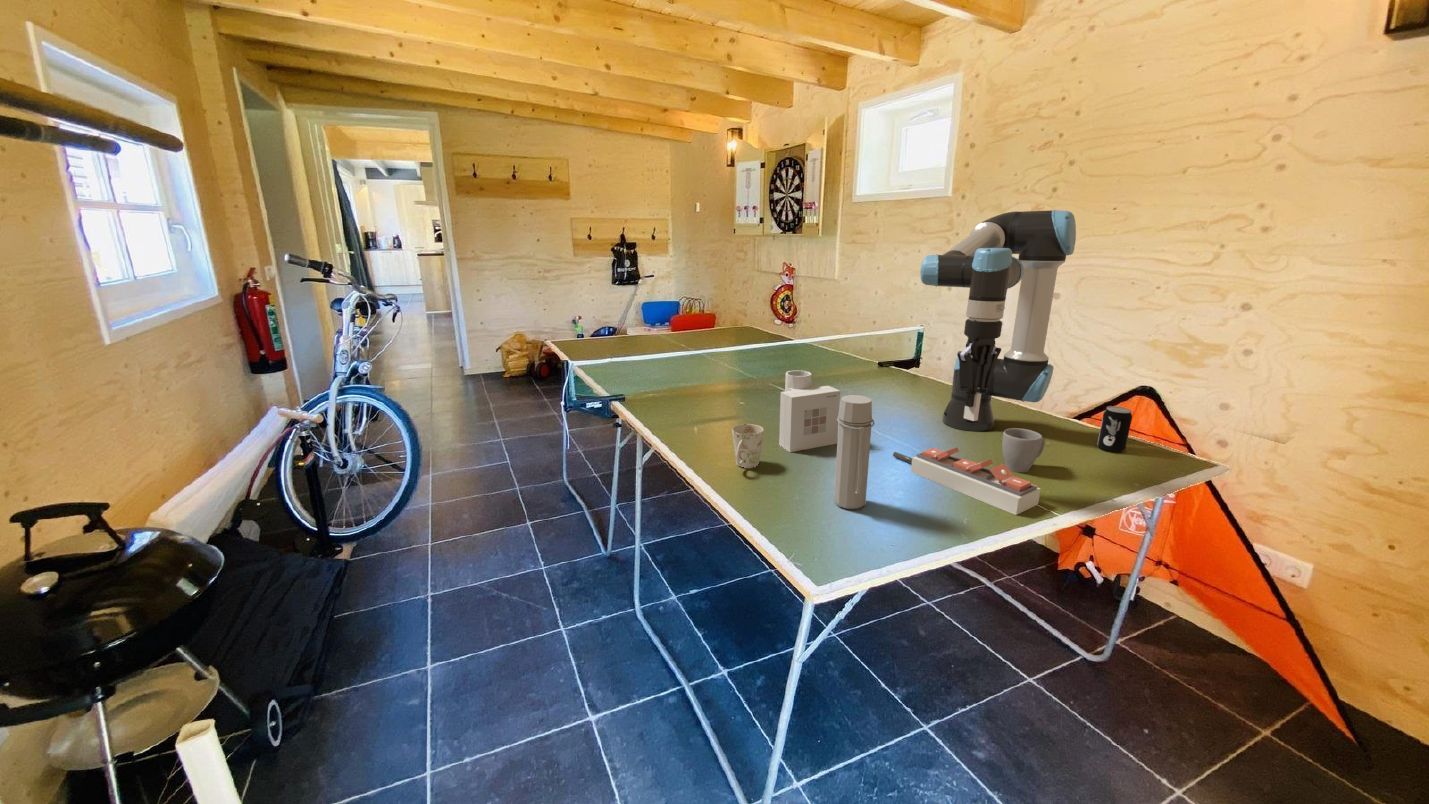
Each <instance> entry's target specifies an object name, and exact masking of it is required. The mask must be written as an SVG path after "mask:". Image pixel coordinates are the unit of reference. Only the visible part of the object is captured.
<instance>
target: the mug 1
mask: <svg viewBox="0 0 1429 804" xmlns="http://www.w3.org/2000/svg"><path fill="white" fill-rule="evenodd" d="M764 432H765V431H764V428H763V426H761V425H758V424H752V423H742V424H737V425H734V426H733V427H732V429H731V433H732V441H733V442H732V443H733V449H734V456H735V463H736V466H737V465H738V466H737V467H739V466H741V467H744V468H743V469H754V468H756V466H757V467H758V466H759V465H758V464H759V463H760V458H761V451H762V445H763V439H764ZM741 467H740V468H741ZM753 467H754V468H753Z"/></svg>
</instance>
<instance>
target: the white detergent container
mask: <svg viewBox="0 0 1429 804" xmlns="http://www.w3.org/2000/svg"><path fill="white" fill-rule="evenodd" d="M784 384H785V386H784V391H780V400H779V401H780V406H779V408H780V409H779V436H778V437H779V438H778V439H779V440H778V446H779V445H780V446H779V447H781V446H782V447H783V448H782V447H781V448H782V449H784V450H785V449H786V450H785V451H787V452H789V453H794V452H798V451H803V450H809V449H815V448H820V447H826V446H831V445H832V446H833V445H837V442H838V425H839V422H838V421H837V418H838V415H839V408H840V402H841V390H840V389H838V388H835V387H833V386H830V385H822V386H814V385H812V373H811V372H810V371H806V370H798V369H797V370H787V371H786V372H785V382H784Z"/></svg>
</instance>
